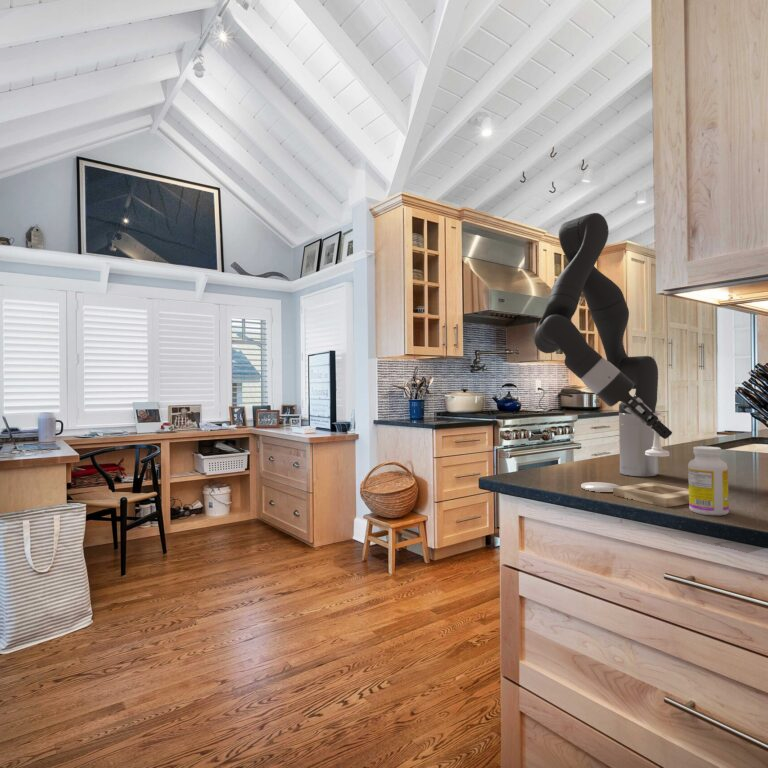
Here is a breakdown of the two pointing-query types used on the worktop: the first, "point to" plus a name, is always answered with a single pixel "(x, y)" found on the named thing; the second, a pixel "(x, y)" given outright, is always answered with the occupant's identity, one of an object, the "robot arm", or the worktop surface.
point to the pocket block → (654, 494)
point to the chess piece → (657, 444)
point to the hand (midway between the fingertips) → (667, 435)
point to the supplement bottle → (708, 482)
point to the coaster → (599, 486)
